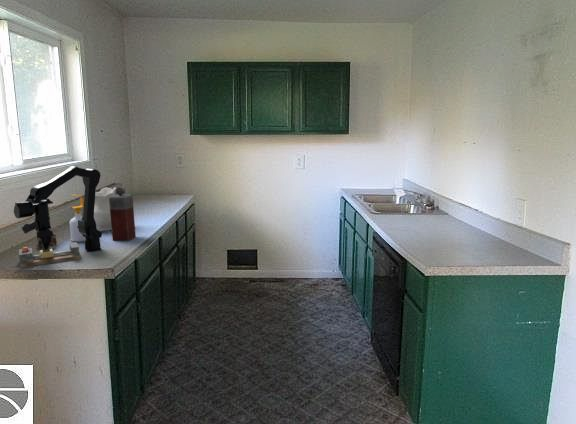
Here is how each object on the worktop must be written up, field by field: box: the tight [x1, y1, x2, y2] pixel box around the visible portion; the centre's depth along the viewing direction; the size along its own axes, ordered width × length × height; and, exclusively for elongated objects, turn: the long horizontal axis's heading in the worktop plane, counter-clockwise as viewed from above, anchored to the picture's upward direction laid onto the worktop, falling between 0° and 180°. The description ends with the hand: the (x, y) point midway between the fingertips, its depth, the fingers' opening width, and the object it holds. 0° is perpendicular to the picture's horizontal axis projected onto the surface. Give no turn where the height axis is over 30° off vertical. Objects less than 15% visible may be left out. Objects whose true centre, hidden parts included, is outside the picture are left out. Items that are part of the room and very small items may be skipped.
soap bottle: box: [68, 193, 85, 243], centre depth 237 cm, size 9×9×25 cm
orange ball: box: [21, 246, 29, 252], centre depth 198 cm, size 2×2×2 cm
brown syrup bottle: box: [109, 186, 137, 242], centre depth 239 cm, size 9×11×28 cm
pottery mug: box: [36, 233, 58, 250], centre depth 225 cm, size 12×10×8 cm
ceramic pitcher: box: [94, 187, 118, 232], centre depth 261 cm, size 22×20×25 cm
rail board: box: [18, 241, 82, 268], centre depth 203 cm, size 24×11×6 cm, turn 121°
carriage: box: [39, 240, 54, 258], centre depth 202 cm, size 5×5×8 cm
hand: (46, 248), depth 202 cm, fingers closed on carriage, 3 cm apart
